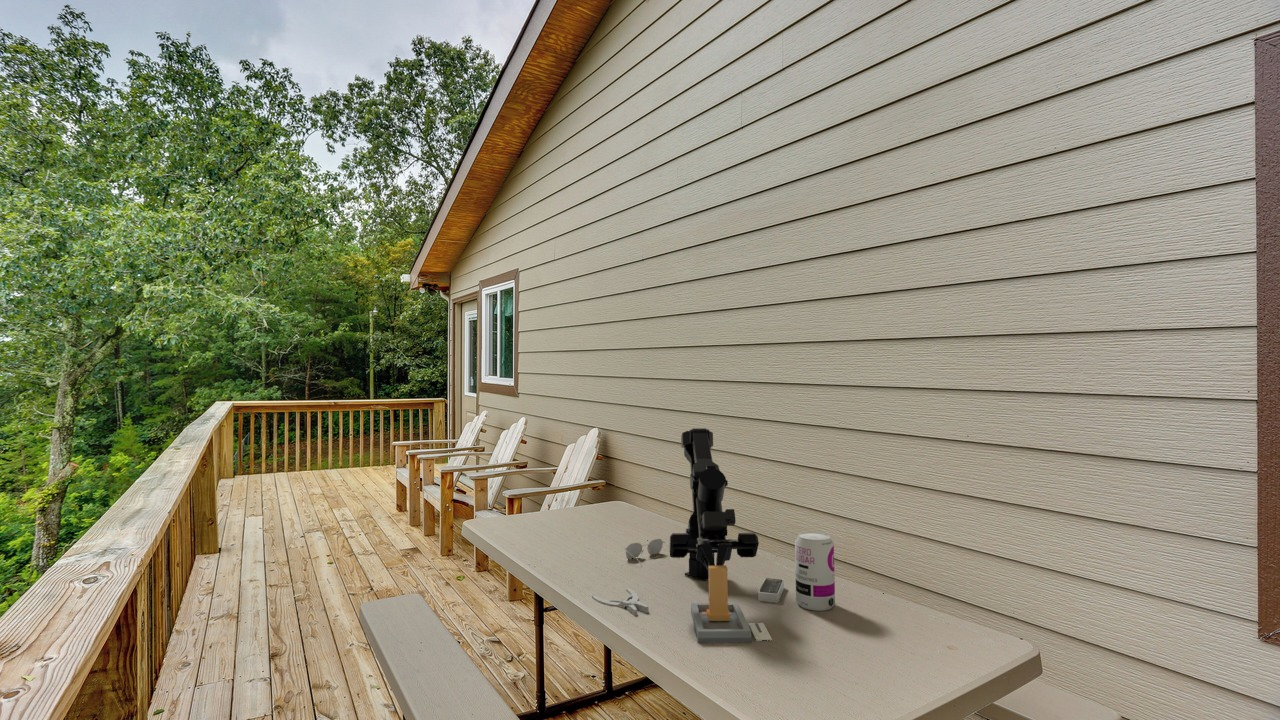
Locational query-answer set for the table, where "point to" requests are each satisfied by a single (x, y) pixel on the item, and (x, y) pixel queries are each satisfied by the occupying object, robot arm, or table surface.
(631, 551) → the sunglasses
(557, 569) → the table surface
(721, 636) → the switch housing
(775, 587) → the multiport hub
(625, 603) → the pliers
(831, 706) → the table surface
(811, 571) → the supplement can
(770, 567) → the table surface
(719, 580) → the orange tall block
